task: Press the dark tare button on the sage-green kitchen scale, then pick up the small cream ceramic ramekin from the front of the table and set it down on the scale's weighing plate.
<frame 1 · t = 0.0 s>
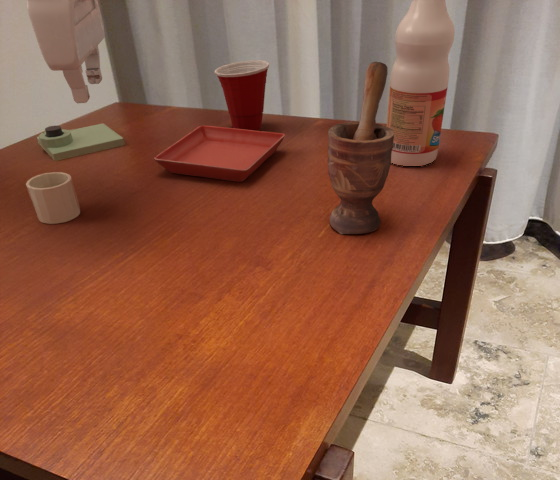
hand: (89, 91, 75), 17 cm above the table, tool pointing down, fingers open, 8 cm apart
plastic cup: (246, 130, 115), on the table
fruit juice: (409, 159, 100), on the table
ramekin: (59, 214, 87), on the table
mortar and pestle: (354, 220, 82), on the table
plant saucer: (223, 164, 101), on the table
scale: (81, 144, 111), on the table
tare button: (54, 132, 107), point 3 cm above the table, slide at 0.1 cm
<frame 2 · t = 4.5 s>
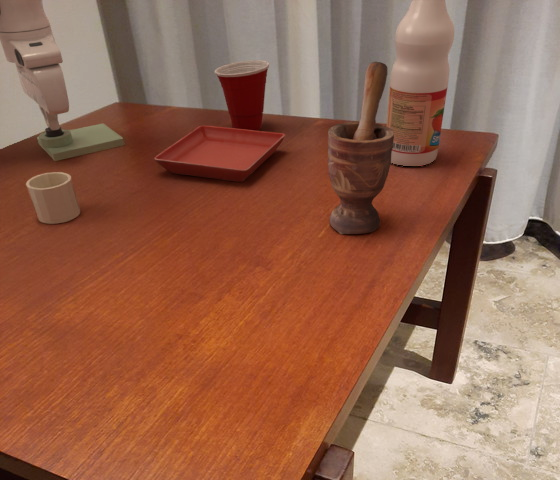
hand: (53, 128, 107), 4 cm above the table, tool pointing down, fingers closed, pressing on tare button
tare button: (54, 132, 108), point 3 cm above the table, slide at 0.0 cm, touching gripper
everything else where it was.
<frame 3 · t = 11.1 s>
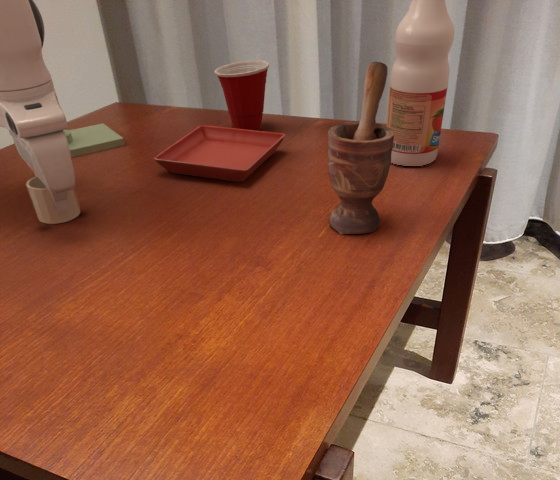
hand: (55, 201, 86), 2 cm above the table, tool pointing down, fingers closed on ramekin, 6 cm apart
ramekin: (59, 214, 87), on the table, touching gripper
tare button: (54, 132, 107), point 3 cm above the table, slide at 0.1 cm
everything else where it was.
when the fingers open (3 cm above the table, at t = 19.5 s): ramekin stays where it is, resting on scale.
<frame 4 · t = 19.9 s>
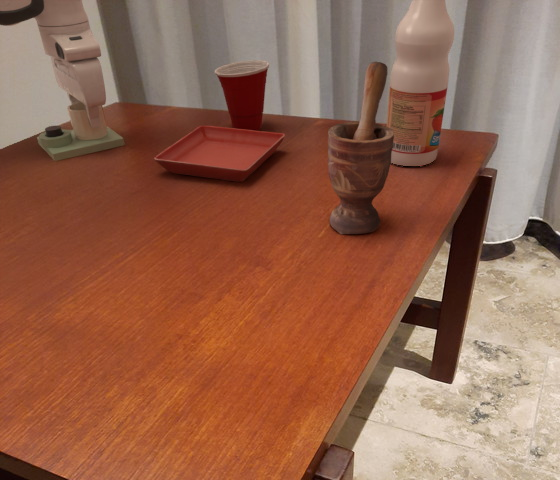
hand: (87, 120, 110), 4 cm above the table, tool pointing down, fingers open, 8 cm apart
ramekin: (91, 134, 112), point 1 cm above the table, touching scale
everything else where it was.
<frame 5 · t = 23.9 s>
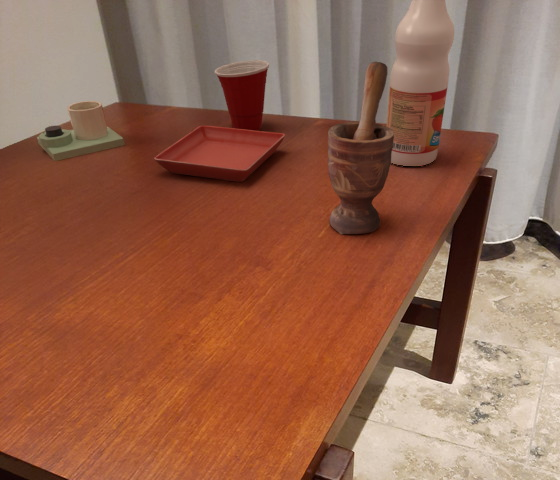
nothing on the table moved.
at the end: tare button pushed in 0.9 cm at the most during the clip, back to where it started at the end; ramekin inside the target area on the scale (0.5 cm from its centre), point 1.4 cm above the scale's base; ramekin touching scale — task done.
